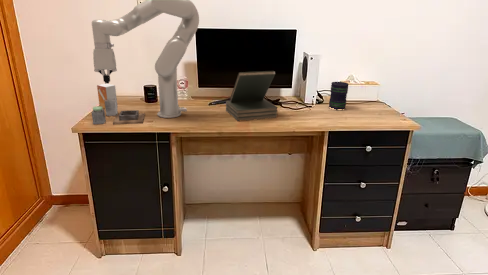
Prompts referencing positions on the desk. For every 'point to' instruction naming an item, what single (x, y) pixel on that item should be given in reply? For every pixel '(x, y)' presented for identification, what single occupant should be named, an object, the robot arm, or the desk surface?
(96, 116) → the button post
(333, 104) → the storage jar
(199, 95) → the desk surface
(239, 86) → the tilted panel stand
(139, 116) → the square base with tray
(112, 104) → the block
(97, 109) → the button
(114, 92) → the small box
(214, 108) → the desk surface
